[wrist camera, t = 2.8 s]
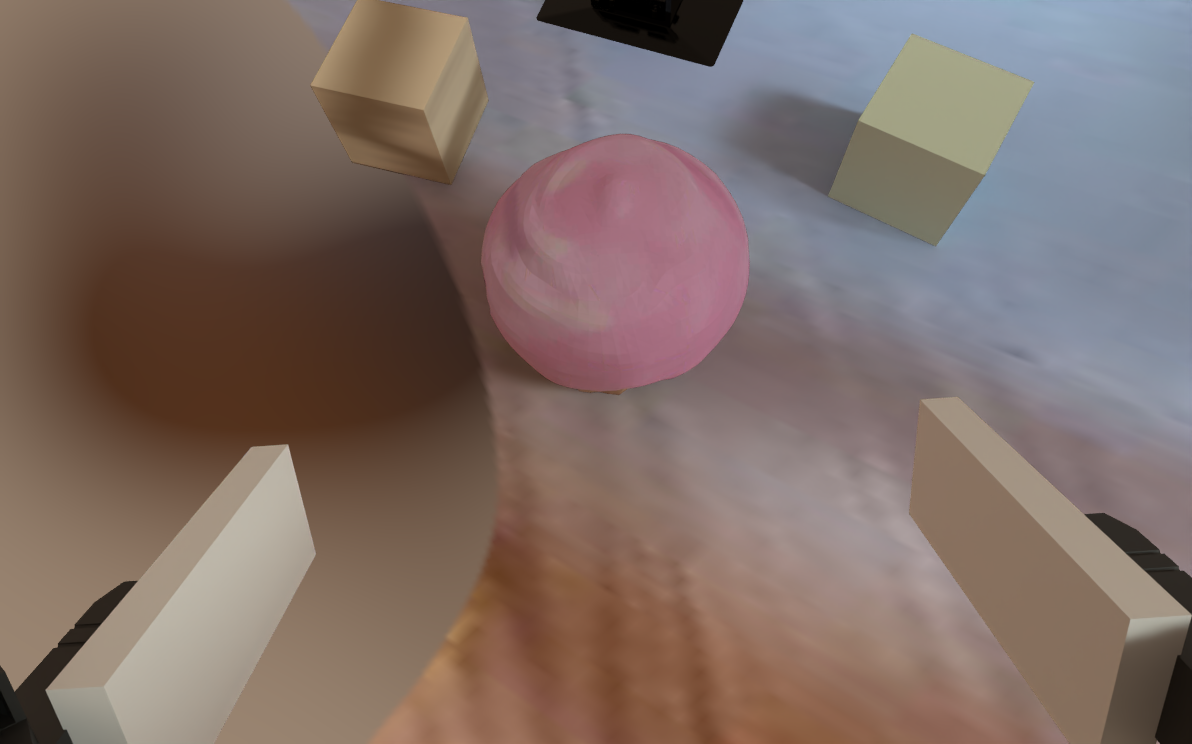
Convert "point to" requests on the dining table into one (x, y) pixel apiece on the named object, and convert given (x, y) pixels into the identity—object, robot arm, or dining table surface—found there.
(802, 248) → the dining table surface
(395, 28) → the birch block
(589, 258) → the cupcake
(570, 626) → the dining table surface
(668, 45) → the black piece
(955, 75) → the sage block
